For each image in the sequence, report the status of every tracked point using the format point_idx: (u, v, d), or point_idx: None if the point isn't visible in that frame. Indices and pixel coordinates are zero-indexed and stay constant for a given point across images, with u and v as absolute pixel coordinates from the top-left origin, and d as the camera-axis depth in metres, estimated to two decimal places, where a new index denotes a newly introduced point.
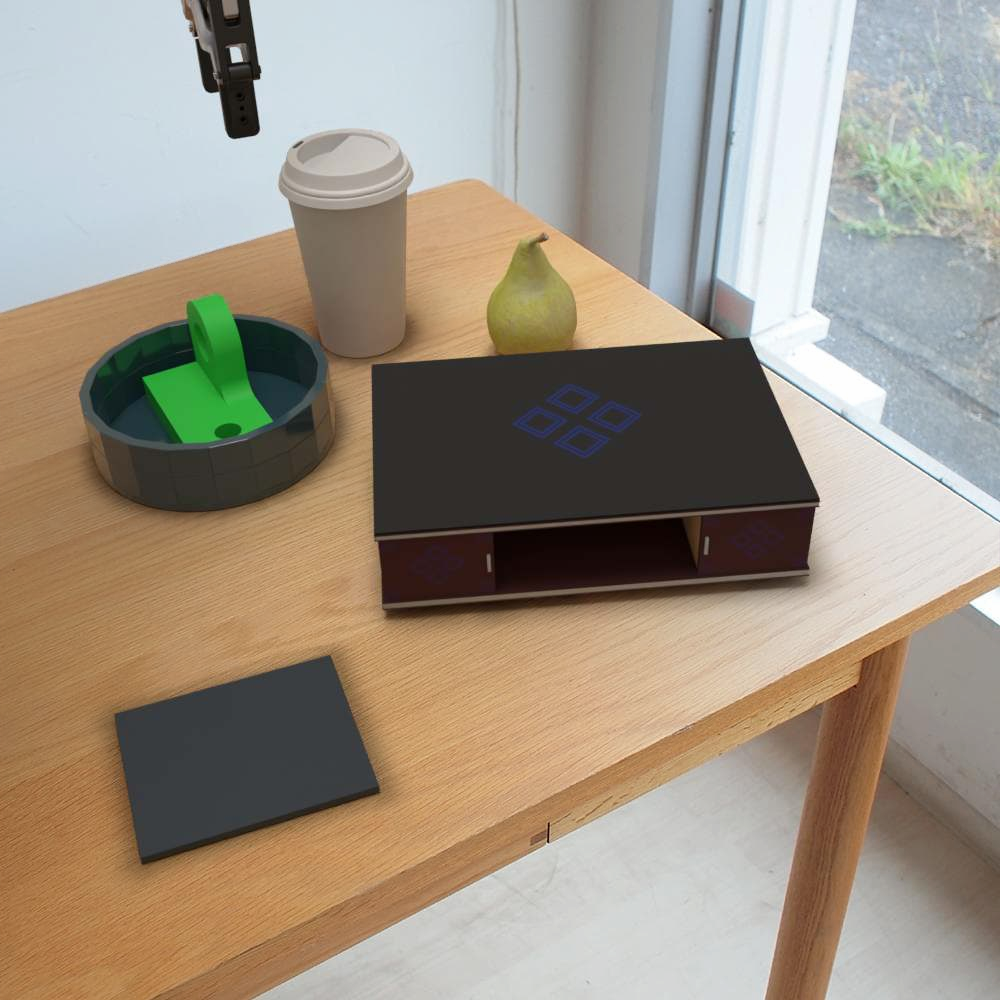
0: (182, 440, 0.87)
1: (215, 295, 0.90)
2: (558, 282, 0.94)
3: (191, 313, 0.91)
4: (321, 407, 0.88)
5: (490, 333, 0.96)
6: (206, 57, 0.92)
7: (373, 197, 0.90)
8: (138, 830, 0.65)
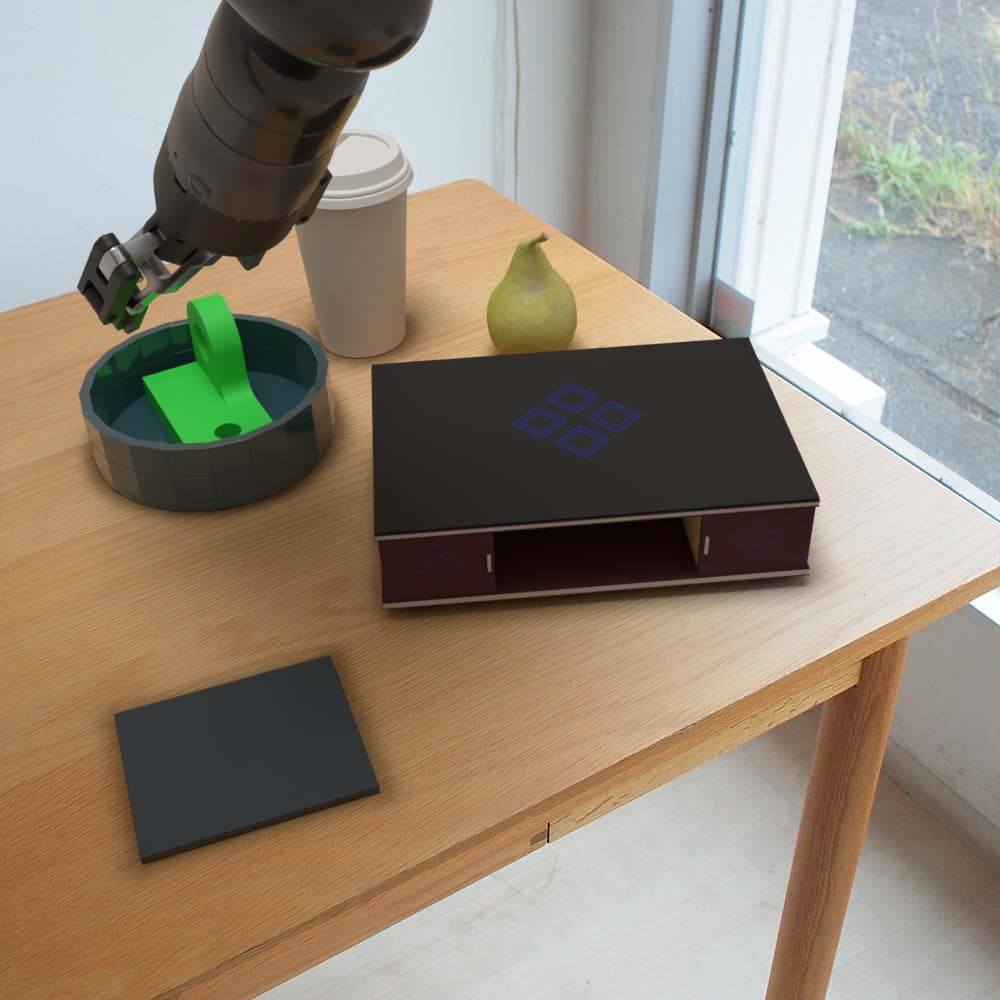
0: (182, 440, 0.87)
1: (215, 295, 0.90)
2: (558, 282, 0.94)
3: (191, 313, 0.91)
4: (321, 407, 0.88)
5: (490, 333, 0.96)
6: None
7: (373, 197, 0.90)
8: (138, 830, 0.65)
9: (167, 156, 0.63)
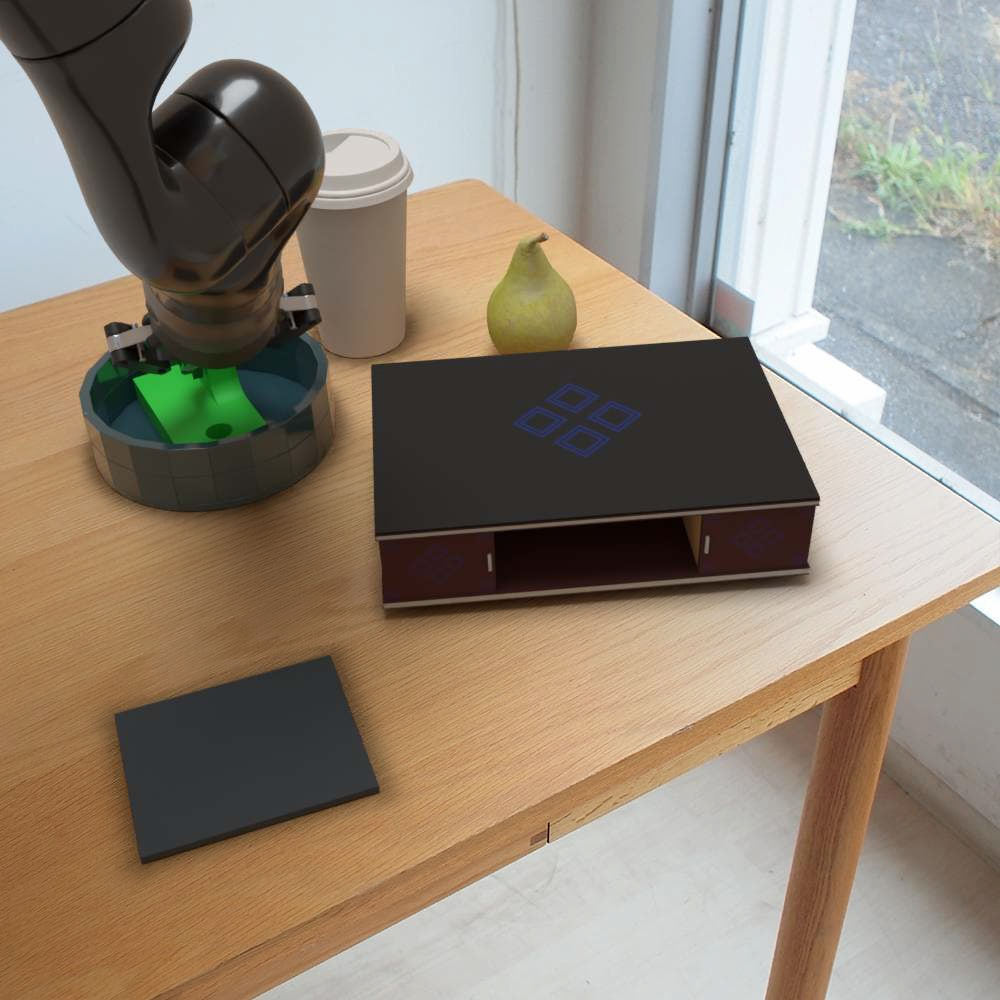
0: (173, 441, 0.87)
1: None
2: (558, 282, 0.94)
3: None
4: (321, 407, 0.88)
5: (490, 333, 0.96)
6: None
7: (373, 197, 0.90)
8: (138, 830, 0.65)
9: None
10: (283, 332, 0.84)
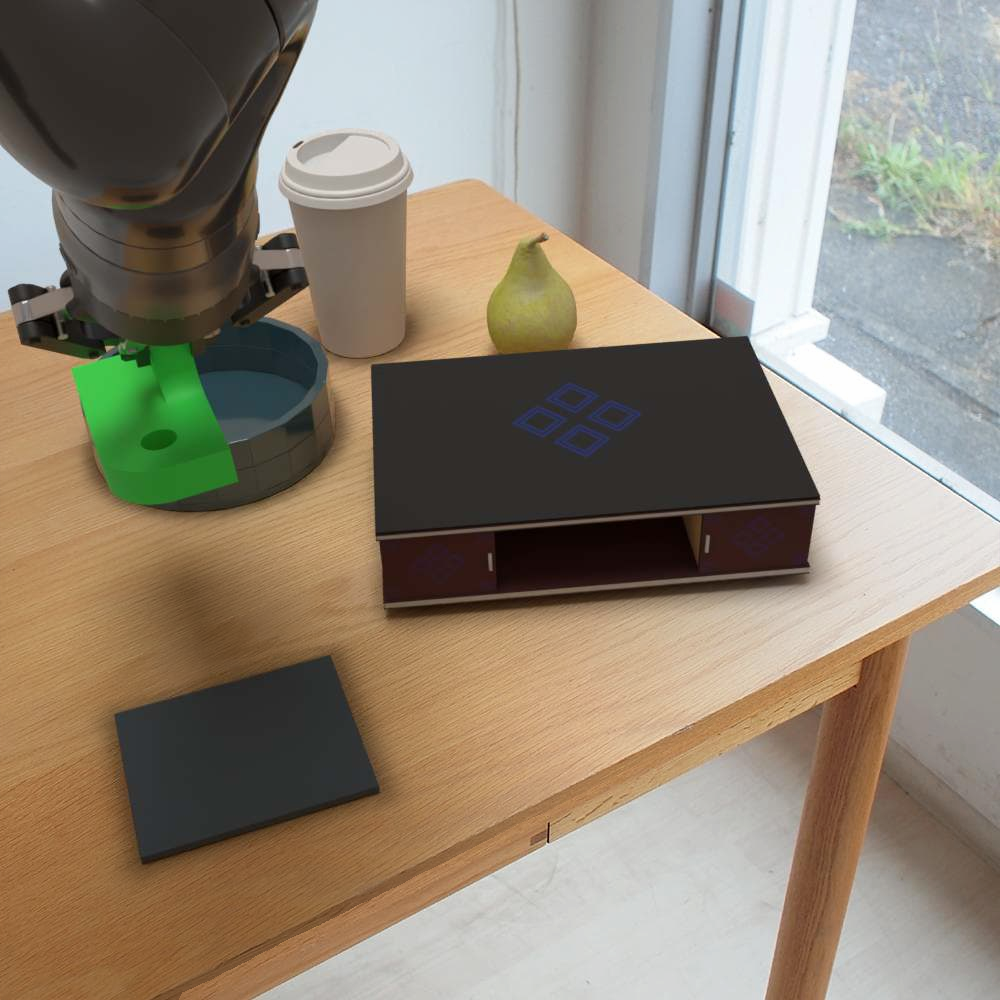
0: (97, 451, 0.65)
1: None
2: (558, 282, 0.94)
3: None
4: (321, 407, 0.88)
5: (490, 333, 0.96)
6: None
7: (373, 197, 0.90)
8: (138, 830, 0.65)
9: None
10: (256, 301, 0.62)
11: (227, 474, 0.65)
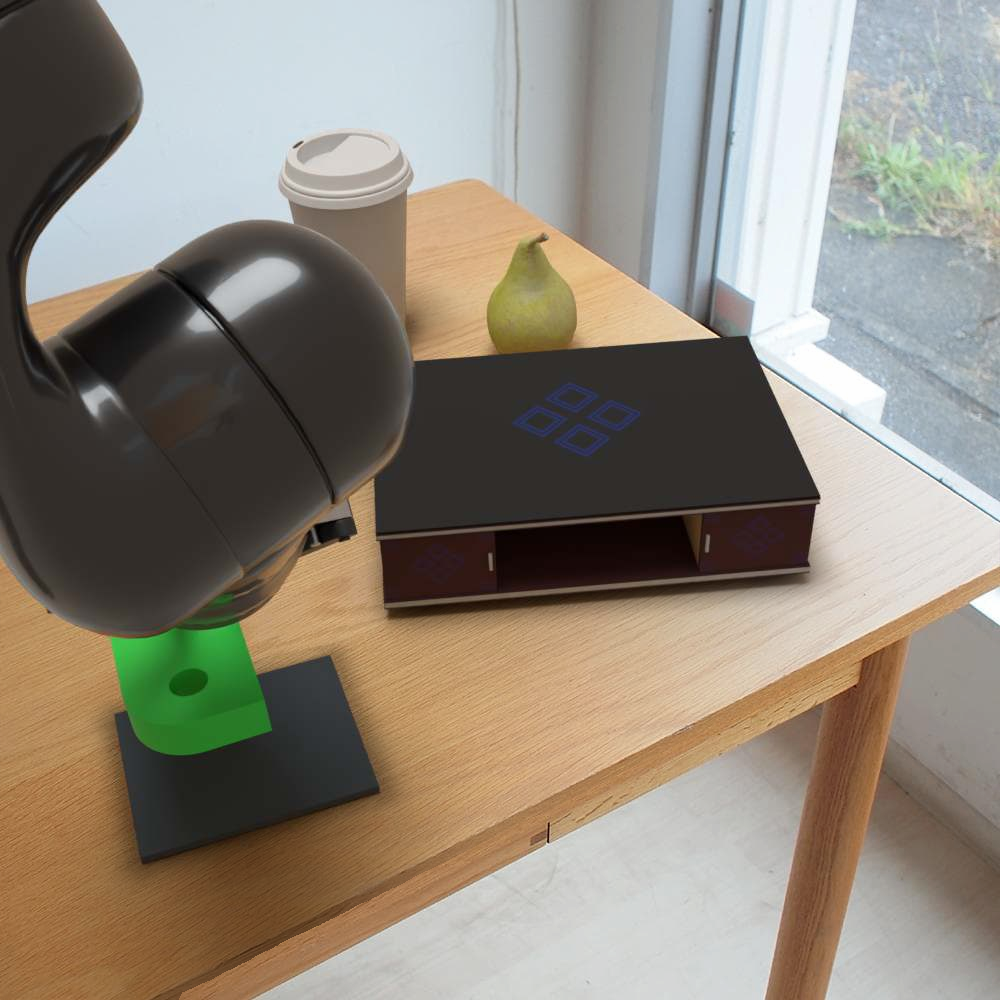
0: (122, 693, 0.61)
1: None
2: (558, 282, 0.94)
3: None
4: None
5: (490, 333, 0.96)
6: None
7: (373, 197, 0.90)
8: (138, 830, 0.65)
9: None
10: None
11: (260, 724, 0.60)
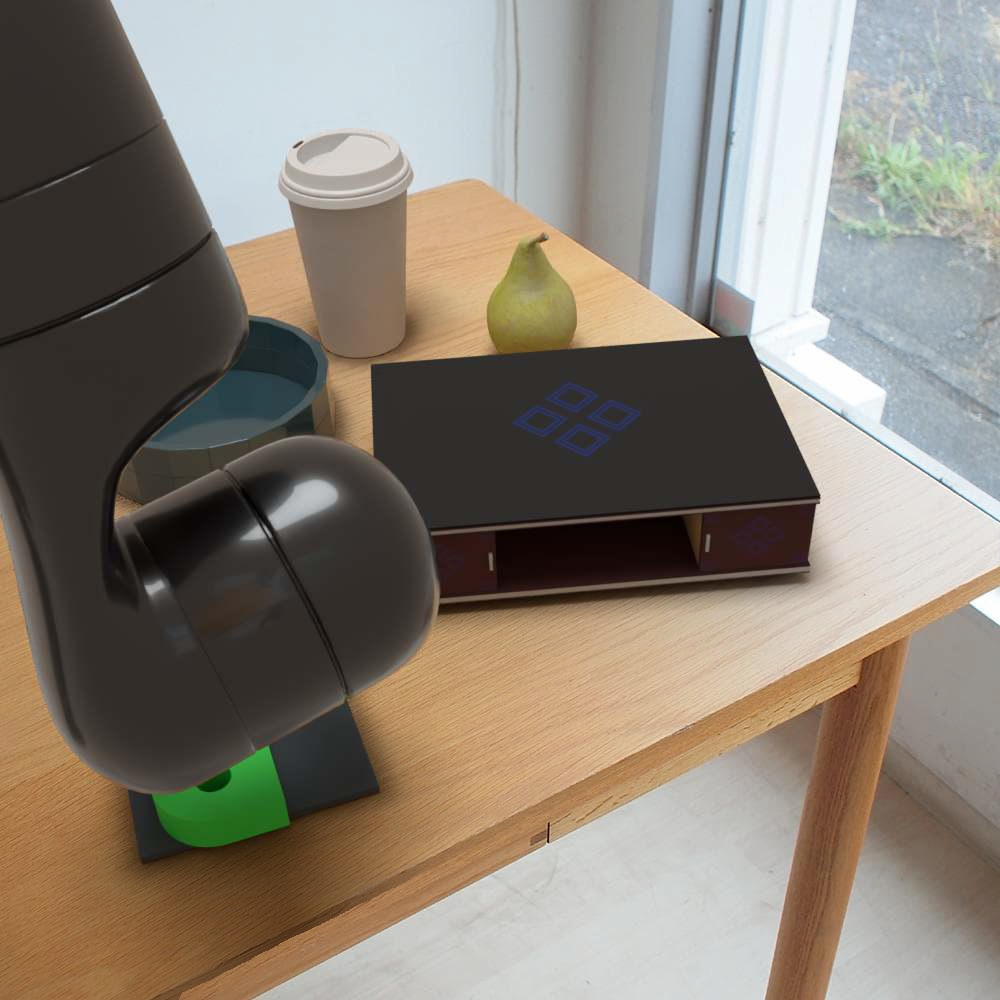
0: None
1: None
2: (558, 282, 0.94)
3: None
4: (321, 407, 0.88)
5: (490, 333, 0.96)
6: None
7: (373, 197, 0.90)
8: (138, 830, 0.65)
9: None
10: None
11: (279, 819, 0.65)
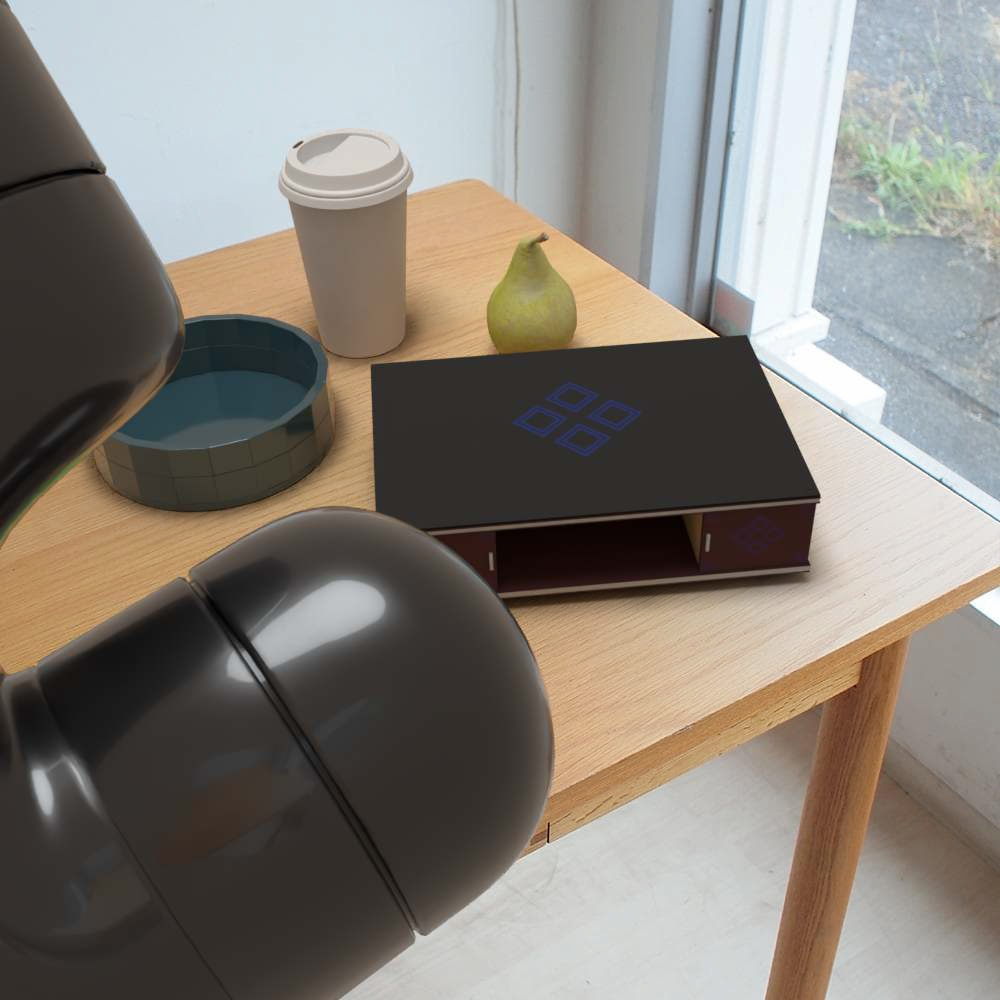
0: None
1: None
2: (558, 282, 0.94)
3: None
4: (321, 407, 0.88)
5: (490, 333, 0.96)
6: None
7: (373, 197, 0.90)
8: None
9: None
10: None
11: None
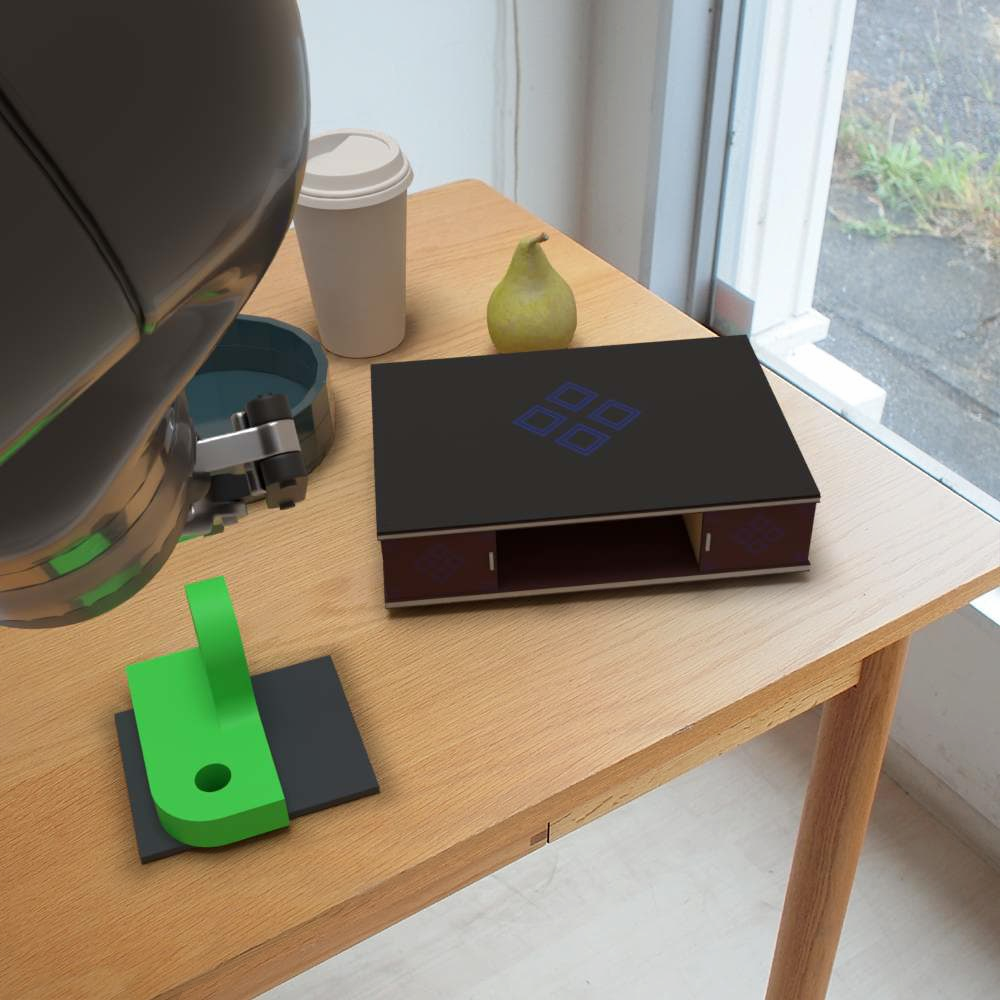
0: (150, 786, 0.65)
1: (219, 582, 0.67)
2: (558, 282, 0.94)
3: (188, 600, 0.68)
4: (321, 407, 0.88)
5: (490, 333, 0.96)
6: None
7: (373, 197, 0.90)
8: (138, 830, 0.65)
9: None
10: None
11: (279, 819, 0.65)
